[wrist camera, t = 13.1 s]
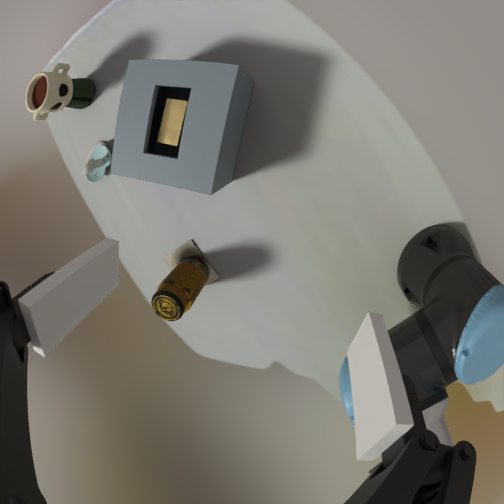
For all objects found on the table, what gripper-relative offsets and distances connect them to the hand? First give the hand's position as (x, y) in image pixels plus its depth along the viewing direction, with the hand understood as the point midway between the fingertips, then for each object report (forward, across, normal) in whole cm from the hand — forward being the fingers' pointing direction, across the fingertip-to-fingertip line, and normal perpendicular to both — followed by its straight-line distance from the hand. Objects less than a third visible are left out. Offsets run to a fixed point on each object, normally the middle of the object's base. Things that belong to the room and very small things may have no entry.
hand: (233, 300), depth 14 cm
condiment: (+32, +12, +18) cm, 39 cm away
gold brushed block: (+31, +15, -7) cm, 35 cm away
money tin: (+32, +15, -7) cm, 36 cm away
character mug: (+32, +40, -11) cm, 52 cm away
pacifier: (+32, +33, +2) cm, 46 cm away
